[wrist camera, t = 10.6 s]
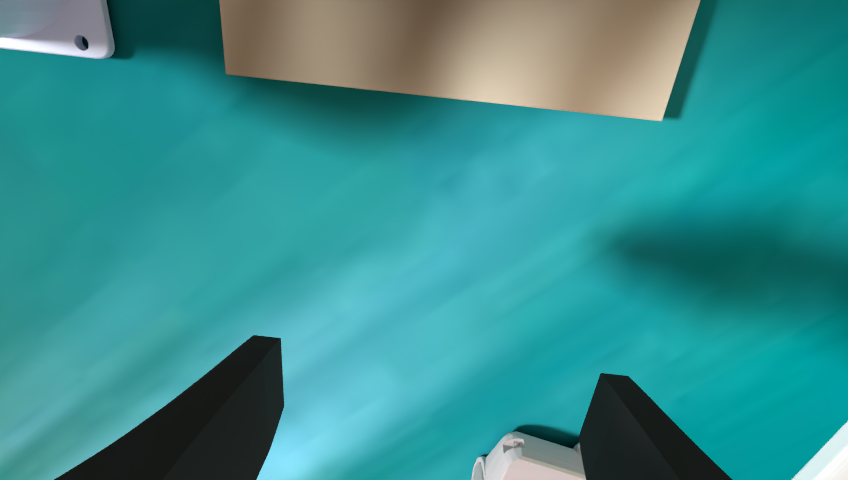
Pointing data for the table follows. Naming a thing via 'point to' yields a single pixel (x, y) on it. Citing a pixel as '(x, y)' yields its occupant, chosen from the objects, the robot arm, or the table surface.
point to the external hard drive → (829, 460)
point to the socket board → (471, 49)
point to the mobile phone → (529, 460)
